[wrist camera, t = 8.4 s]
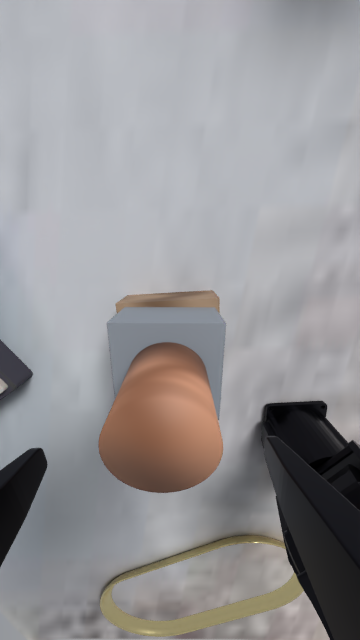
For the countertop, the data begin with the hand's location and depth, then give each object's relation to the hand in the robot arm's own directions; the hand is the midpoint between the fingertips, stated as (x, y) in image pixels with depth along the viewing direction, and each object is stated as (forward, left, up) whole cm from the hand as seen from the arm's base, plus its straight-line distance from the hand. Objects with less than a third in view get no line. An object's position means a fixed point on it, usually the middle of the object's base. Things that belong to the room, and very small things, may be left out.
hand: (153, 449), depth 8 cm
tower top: (0, 0, -9) cm, 9 cm away
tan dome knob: (0, 0, -5) cm, 5 cm away
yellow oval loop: (-1, +44, -13) cm, 46 cm away
